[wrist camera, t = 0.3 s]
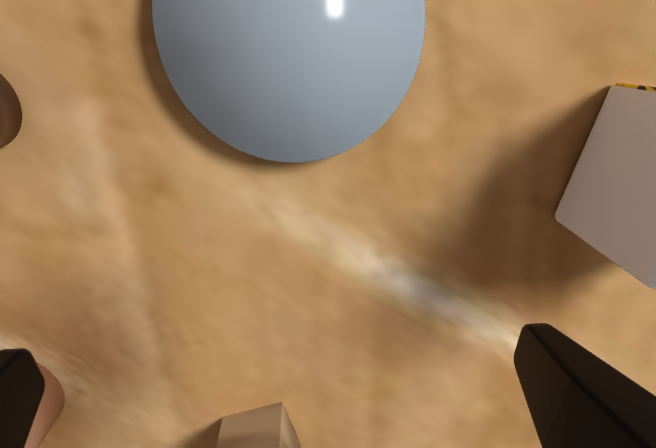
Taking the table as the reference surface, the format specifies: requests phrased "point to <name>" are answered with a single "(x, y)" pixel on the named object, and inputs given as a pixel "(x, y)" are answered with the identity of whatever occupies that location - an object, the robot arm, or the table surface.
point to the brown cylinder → (9, 112)
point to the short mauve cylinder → (46, 409)
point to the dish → (290, 69)
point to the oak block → (258, 429)
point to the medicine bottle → (618, 183)
